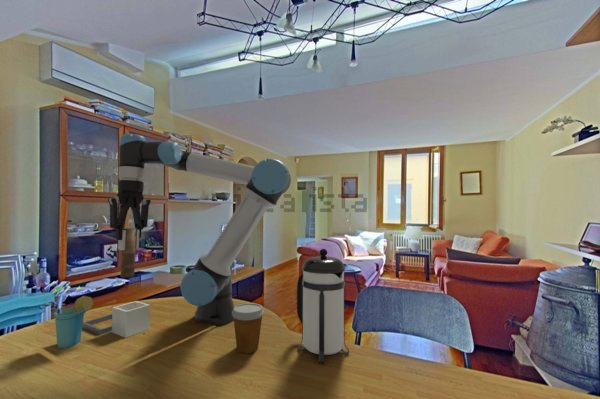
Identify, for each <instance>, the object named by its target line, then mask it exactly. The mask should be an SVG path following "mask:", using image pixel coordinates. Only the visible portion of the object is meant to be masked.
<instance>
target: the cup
mask: <svg viewBox="0 0 600 399" xmlns="http://www.w3.org/2000/svg"><path fill="white" fill-rule="evenodd" d="M94 303H95V301H94V300H93V298H92V297H91V296H87V295H83V296H81V297H79V298H77V299H76V300H75V302H74V304H73V306H72V307H68V308H67V307H65V308H63V309H60V306H59V305H58V302H57V301H54V300H51V301H50V302H47V303H44V304H42V305H41V306H39V307H38V308H39V309H40V310H42V309H45V308H47V307H49V306H52V305H53V306H54V308H55V312H53V317H54V319H55V321H54V322H55V334H56V345H57V348H58V349H66V348H70V347H74V346H77V345H78V344H79V343H81V339H82V332H83V327H82V325H83V322H84V317H85V314H86V312H88V311H91V309H92V308H93V305H94Z"/></svg>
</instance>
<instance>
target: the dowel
mask: <svg viewBox="0 0 600 399" xmlns="http://www.w3.org/2000/svg"><path fill="white" fill-rule="evenodd" d="M123 230H126V237H125V250H121V256H120V278H133V277H135V269H136V268H135V267H136V265H135V264H136V249H135V244H136V228H135V227H134V228H133V227H132V228H127V227H126V228H123Z"/></svg>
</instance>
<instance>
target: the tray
mask: <svg viewBox="0 0 600 399" xmlns="http://www.w3.org/2000/svg"><path fill="white" fill-rule="evenodd" d="M109 320H112V313H110V314H107V315H104V316H100V317H97V318H93V319H90V320H86V321H83V325H82V329H86V330H88V331H91V332H92V333H95V334H96V335H100V336H101V335H104V334H107V333H110V332H111V333H112V325H110V326H106V327H104V328H100V327H98V326H95V325H97V324H99V323H102V322H106V321H109Z"/></svg>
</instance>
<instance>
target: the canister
mask: <svg viewBox="0 0 600 399" xmlns="http://www.w3.org/2000/svg"><path fill="white" fill-rule="evenodd" d="M111 310H112V312H111V314H112V319H111V320H112V321H111V326H112V331H111V333H112V334H115V335H118V336H119V337H122V338H129V337H132V336H134V335H138V334H139V333H140V334H141V333H142V332H145V331H148V330H150V327H151V304H149V303H145V302H141V301H138V300H135V301H132V302H127V303H124V304H121V305H116V306H113V307H112V309H111Z"/></svg>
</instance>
